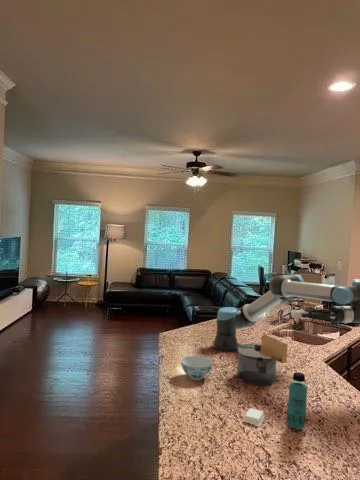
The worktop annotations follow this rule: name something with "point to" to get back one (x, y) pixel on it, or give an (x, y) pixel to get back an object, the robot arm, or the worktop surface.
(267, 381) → the pot
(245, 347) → the lid
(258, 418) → the soap
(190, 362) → the chinaware
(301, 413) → the beverage bottle
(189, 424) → the worktop surface
